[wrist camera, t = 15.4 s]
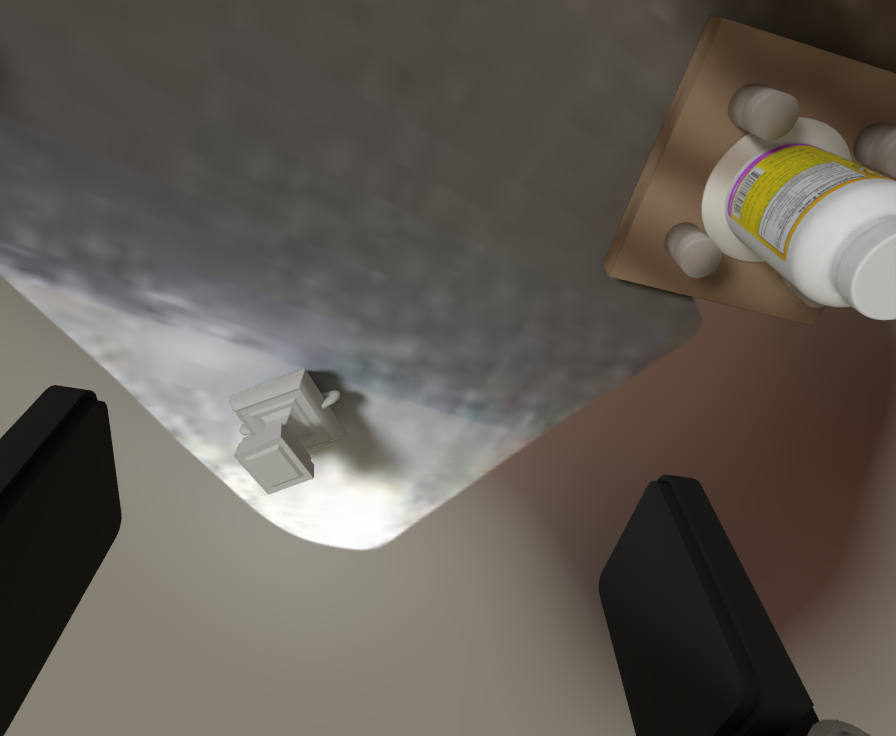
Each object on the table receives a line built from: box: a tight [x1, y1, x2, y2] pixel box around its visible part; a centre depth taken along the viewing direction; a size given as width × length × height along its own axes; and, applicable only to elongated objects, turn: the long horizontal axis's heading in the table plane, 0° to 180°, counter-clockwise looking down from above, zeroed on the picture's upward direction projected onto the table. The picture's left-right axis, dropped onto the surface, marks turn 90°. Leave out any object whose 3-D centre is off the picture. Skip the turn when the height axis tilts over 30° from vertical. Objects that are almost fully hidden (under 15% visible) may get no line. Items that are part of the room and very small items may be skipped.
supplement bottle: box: [725, 142, 896, 320], centre depth 33 cm, size 7×7×13 cm
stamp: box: [229, 369, 345, 494], centre depth 46 cm, size 9×7×8 cm
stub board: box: [603, 16, 896, 326], centre depth 38 cm, size 16×16×6 cm
